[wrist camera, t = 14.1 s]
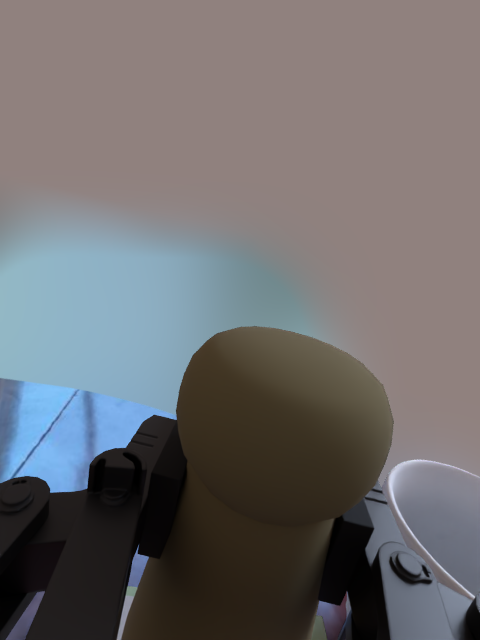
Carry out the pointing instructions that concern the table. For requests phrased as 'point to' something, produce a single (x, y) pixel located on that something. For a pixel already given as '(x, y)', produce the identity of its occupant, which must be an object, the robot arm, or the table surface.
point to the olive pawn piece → (261, 486)
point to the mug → (438, 520)
